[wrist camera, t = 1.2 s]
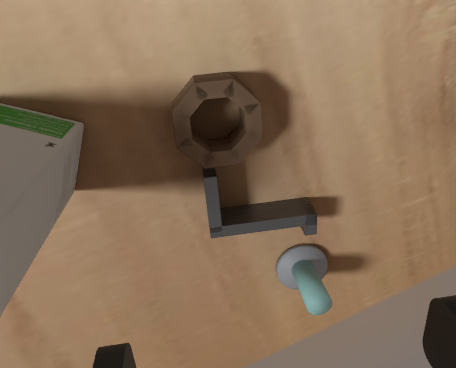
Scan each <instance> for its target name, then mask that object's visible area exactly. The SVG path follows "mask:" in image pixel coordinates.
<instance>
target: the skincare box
mask: <svg viewBox="0 0 456 368" xmlns="http://www.w3.org/2000/svg"><path fill="white" fill-rule="evenodd" d="M83 130H84V124H83V123H81V122H78V121H74V120H69V119H64V118H61V117H57V116H54V115H50V114H46V113H41V112H37V111H33V110H28V109H24V108H20V107H15V106H11V105H7V104H2V103H0V317H1V315H2V313H3V311H4V309H5V308H6V306H7V304H8V302H9V301H10V299H11V297H12V296H13V294H14V292H15V290H16V289H17V287H18V285H19V284H20V282H21V280H22V279H23V277H24V275H25V274H26V272H27V270H28V268H29V267H30V265H31V263H32V262H33V260H34V258H35V257H36V255H37V253H38V251H39V250H40V248H41V246H42V245H43V243H44V241H45V240H46V238H47V236H48V235H49V233H50V231H51V230H52V228H53V226H54V224H55V223H56V221H57V219H58V218H59V216H60V214H61V213H62V211H63V209H64V208H65V206H66V204H67V203H68V201H69V199H70V198H71V196H72V194H73V193H74V190H75V184H76V178H77V172H78V165H79V158H80V151H81V145H82V137H83Z"/></svg>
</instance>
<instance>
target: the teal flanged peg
mask: <svg viewBox="0 0 456 368" xmlns="http://www.w3.org/2000/svg"><path fill="white" fill-rule="evenodd" d="M327 266H328V263H327V259H326V257H325V255H324V253H323V252H322V251H321V250H320V249H319V248H318V247H316V246H314V245H311V244H299V245H295V246H293V247H291V248H289V249H287V250H286V251H285V252H283V253H282V255H281V256H280V257H279V259H278V261H277V264H276V272H277V275H278V278H279V280H280V281H281V283H282V284H283V285H285V286H286V287H288V288H291V289H299V291H300V293H301V295H302V298H303V300H304V303H305V305H306V307H307V310H308V311H309V313H311V314H313V315H321V314H324V313H326V312H327V311H328V310H329V309H330V308H331V306H332V300H331V298H330V296H329V294H328V292H327V290H326V289H325V287H324V285H323V283H322V281H321V279H322V278H323V277H324V275H325V273H326V271H327Z"/></svg>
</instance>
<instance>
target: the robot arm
mask: <svg viewBox="0 0 456 368" xmlns="http://www.w3.org/2000/svg"><path fill="white" fill-rule="evenodd" d="M423 348H424V352H425V355H426V357H427V359H428V361H429V363H430V365H431V366H432V367H433V368H456V295H455V296H448V297H441V298H434V299H433V300H431V302H430V305H429V310H428V315H427V320H426V325H425V330H424V335H423ZM93 368H136V364H135V361H134V357H133V353H132V349H131V346H130V344H129V343H124V344H117V345H110V346H104V347H99V348H98V349H97V352H96V355H95V360H94V364H93Z"/></svg>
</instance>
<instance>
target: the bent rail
mask: <svg viewBox="0 0 456 368" xmlns="http://www.w3.org/2000/svg"><path fill="white" fill-rule="evenodd" d="M202 170H203V179H204V187H205V195H206V204H207V212H208V220H209V227H210V234H211V238H217V237H224V236H231V235H239V234H246V233H254V232H261V231H269V230H276V229H284V228H291V227H298V226H300V227H301V229H302V231H303V232H304V234H305V236H306V235H313V234H317V213H316V211H315V210H314V208H313V207H312V205H311V204H310V202H309V201H308V199H307V198H298V199H290V200H283V201H275V202H267V203H259V204H252V205H244V206H236V207H228V208H221V209H220V203H219V193H218V183H217V175H216V171H215V167H212V168H204V167H202Z"/></svg>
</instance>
